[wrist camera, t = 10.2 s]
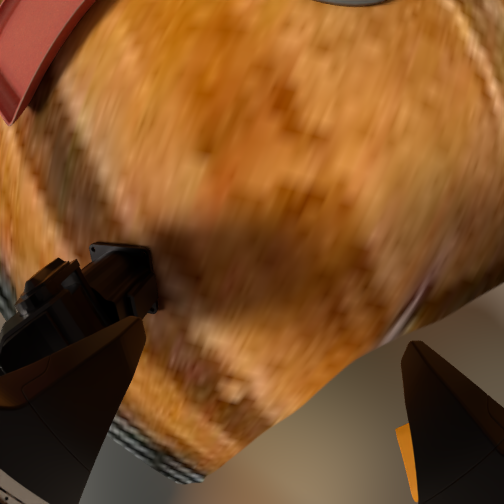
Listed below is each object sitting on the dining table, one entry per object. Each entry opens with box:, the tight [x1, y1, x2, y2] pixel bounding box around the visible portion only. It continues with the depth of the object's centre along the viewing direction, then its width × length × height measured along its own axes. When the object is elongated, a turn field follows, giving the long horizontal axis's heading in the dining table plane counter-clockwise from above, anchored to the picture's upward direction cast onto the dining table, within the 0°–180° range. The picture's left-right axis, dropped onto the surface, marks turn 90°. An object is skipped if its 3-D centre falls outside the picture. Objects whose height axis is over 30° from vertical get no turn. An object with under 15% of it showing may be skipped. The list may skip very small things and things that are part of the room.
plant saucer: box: [0, 0, 96, 126], centre depth 13 cm, size 18×18×3 cm
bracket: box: [396, 423, 418, 502], centre depth 24 cm, size 11×7×12 cm, turn 38°
